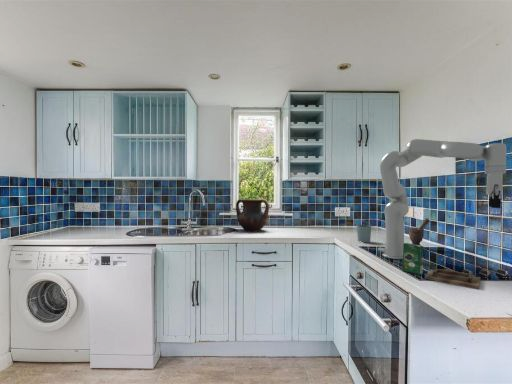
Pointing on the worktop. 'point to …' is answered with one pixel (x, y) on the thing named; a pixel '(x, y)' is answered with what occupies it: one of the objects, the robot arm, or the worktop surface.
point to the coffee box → (412, 258)
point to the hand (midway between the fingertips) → (494, 207)
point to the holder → (453, 278)
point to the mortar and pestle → (418, 233)
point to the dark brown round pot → (252, 214)
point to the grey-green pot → (364, 233)
